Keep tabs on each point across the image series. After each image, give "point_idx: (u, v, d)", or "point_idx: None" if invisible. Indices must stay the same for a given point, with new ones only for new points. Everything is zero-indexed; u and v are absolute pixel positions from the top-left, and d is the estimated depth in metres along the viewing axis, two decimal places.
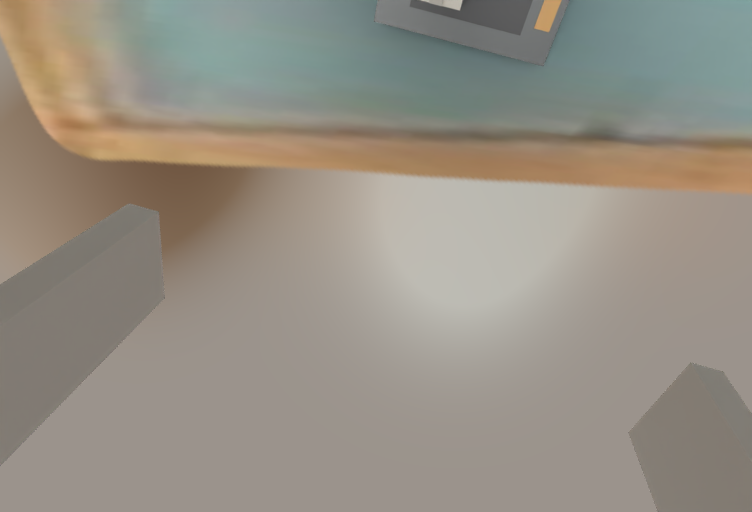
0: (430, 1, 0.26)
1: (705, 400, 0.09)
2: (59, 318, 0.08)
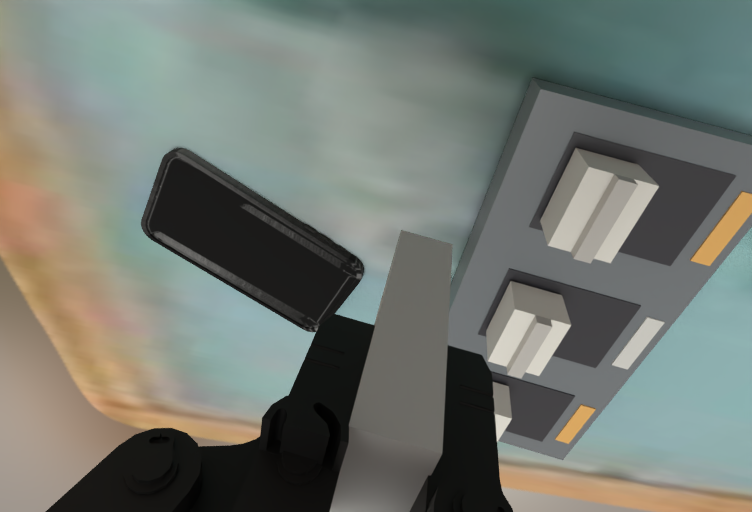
0: None
1: (421, 259, 0.11)
2: None
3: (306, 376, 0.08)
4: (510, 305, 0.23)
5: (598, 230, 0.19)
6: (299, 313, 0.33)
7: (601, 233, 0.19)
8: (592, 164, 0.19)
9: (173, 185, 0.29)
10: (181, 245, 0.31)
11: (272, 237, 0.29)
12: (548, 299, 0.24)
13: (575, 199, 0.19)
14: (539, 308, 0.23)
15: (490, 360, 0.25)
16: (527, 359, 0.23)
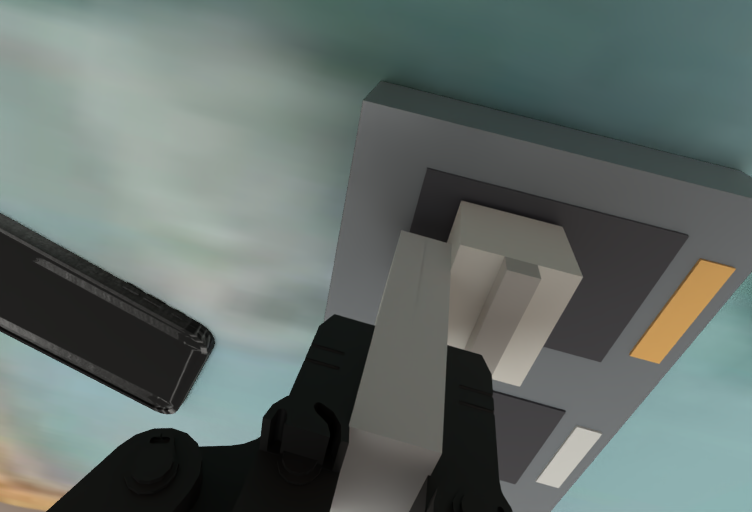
0: None
1: (421, 259, 0.11)
2: None
3: (306, 376, 0.08)
4: None
5: (487, 346, 0.11)
6: (145, 391, 0.25)
7: (492, 351, 0.11)
8: (472, 236, 0.11)
9: None
10: None
11: (85, 300, 0.22)
12: None
13: None
14: None
15: None
16: None
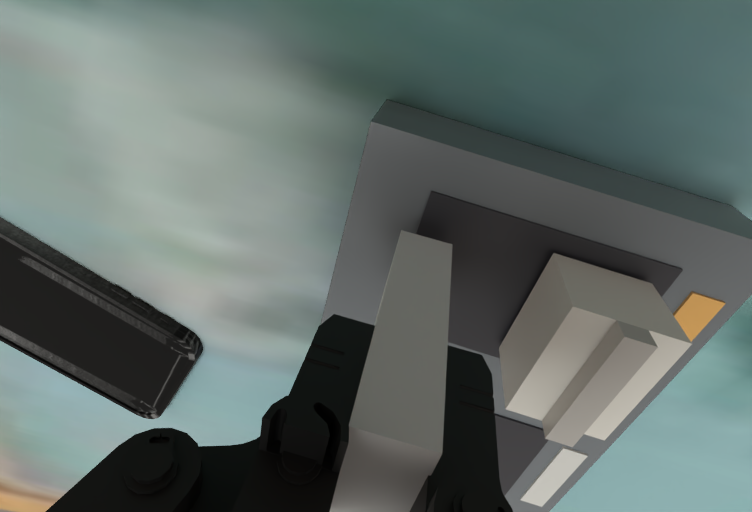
0: None
1: (421, 260, 0.11)
2: None
3: (306, 376, 0.08)
4: None
5: (587, 405, 0.11)
6: (128, 395, 0.24)
7: (591, 409, 0.11)
8: (579, 296, 0.11)
9: None
10: None
11: (70, 301, 0.21)
12: None
13: (549, 351, 0.11)
14: None
15: None
16: None
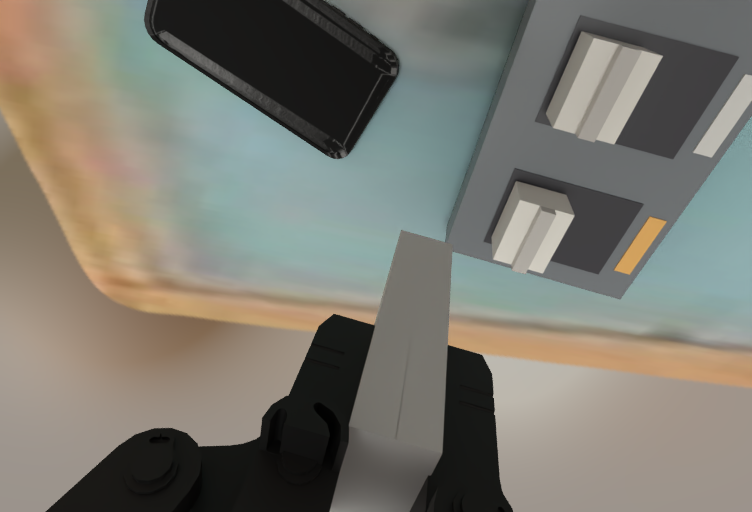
0: (513, 269, 0.25)
1: (422, 260, 0.11)
2: None
3: (306, 376, 0.08)
4: (584, 47, 0.20)
5: None
6: (323, 134, 0.29)
7: None
8: None
9: None
10: (190, 48, 0.27)
11: (294, 25, 0.25)
12: (629, 44, 0.20)
13: None
14: (622, 44, 0.19)
15: (555, 127, 0.21)
16: (605, 109, 0.19)
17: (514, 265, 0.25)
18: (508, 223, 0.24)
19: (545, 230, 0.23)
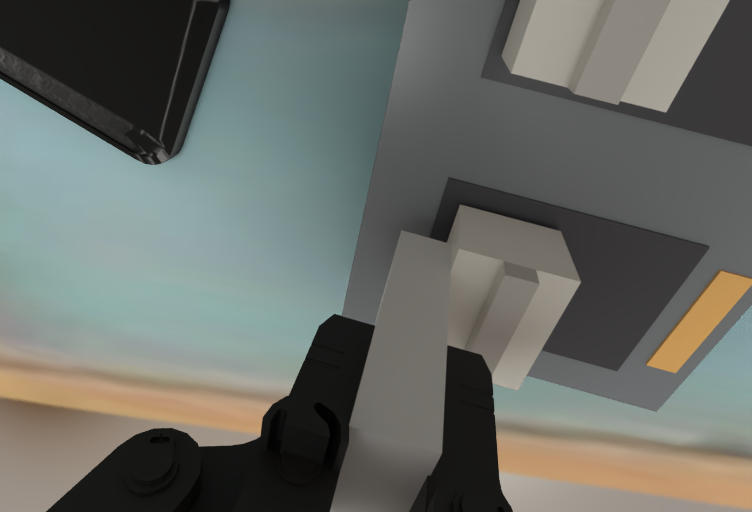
0: None
1: (421, 259, 0.11)
2: None
3: (306, 376, 0.08)
4: None
5: None
6: (122, 121, 0.16)
7: None
8: None
9: None
10: None
11: None
12: None
13: None
14: None
15: (518, 74, 0.08)
16: (648, 8, 0.07)
17: None
18: None
19: (516, 315, 0.10)
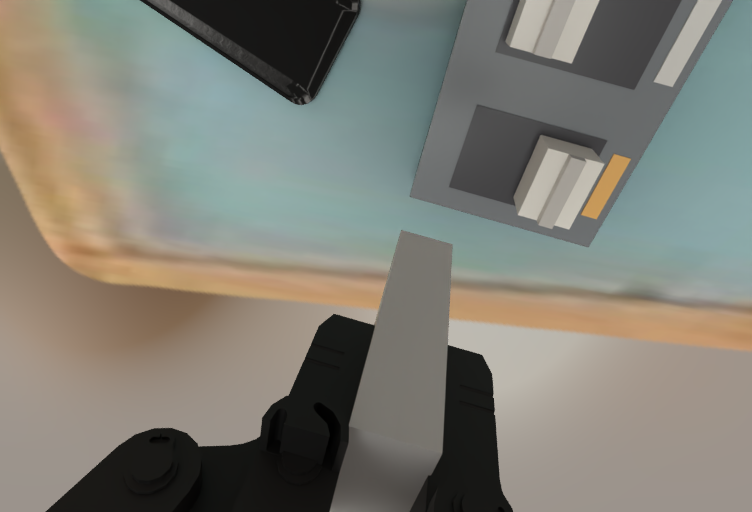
0: (540, 224, 0.24)
1: (421, 259, 0.11)
2: None
3: (306, 376, 0.08)
4: None
5: None
6: (286, 78, 0.28)
7: None
8: None
9: None
10: None
11: None
12: None
13: None
14: None
15: (512, 47, 0.20)
16: (560, 22, 0.19)
17: (540, 219, 0.24)
18: (535, 175, 0.23)
19: (574, 179, 0.22)
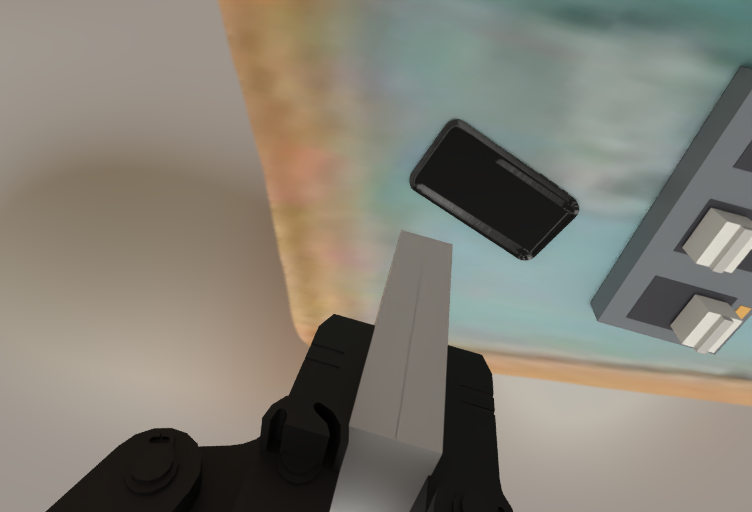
0: (697, 351, 0.39)
1: (421, 260, 0.11)
2: None
3: (306, 376, 0.08)
4: (717, 221, 0.34)
5: None
6: (517, 245, 0.43)
7: None
8: None
9: (446, 147, 0.40)
10: (436, 194, 0.42)
11: (513, 184, 0.40)
12: (741, 218, 0.35)
13: None
14: (740, 222, 0.34)
15: (696, 262, 0.36)
16: (730, 257, 0.34)
17: (698, 349, 0.39)
18: (696, 323, 0.39)
19: (724, 330, 0.38)
